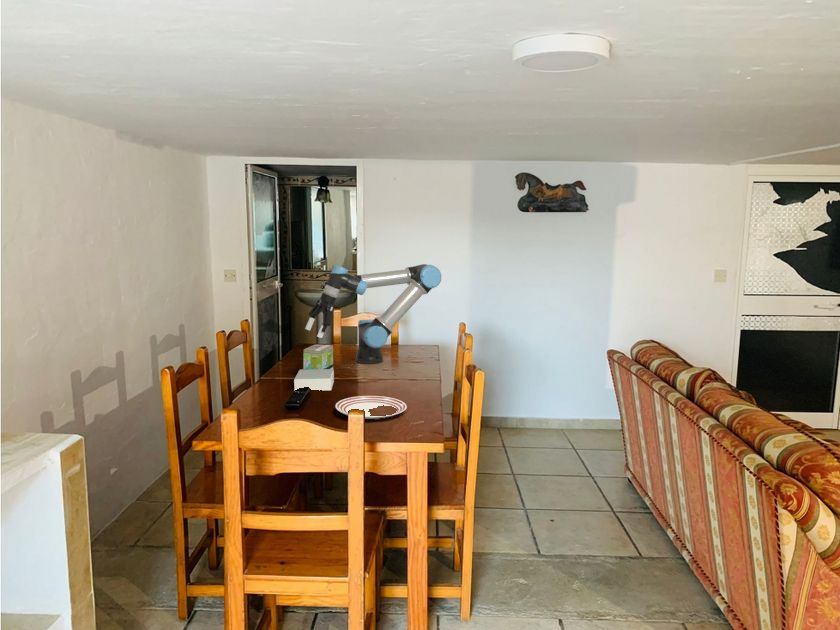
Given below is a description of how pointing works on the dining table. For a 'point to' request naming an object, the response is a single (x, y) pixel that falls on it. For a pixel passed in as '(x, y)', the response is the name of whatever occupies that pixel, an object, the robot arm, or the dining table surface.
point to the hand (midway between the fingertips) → (313, 333)
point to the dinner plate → (370, 405)
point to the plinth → (314, 379)
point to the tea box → (318, 357)
